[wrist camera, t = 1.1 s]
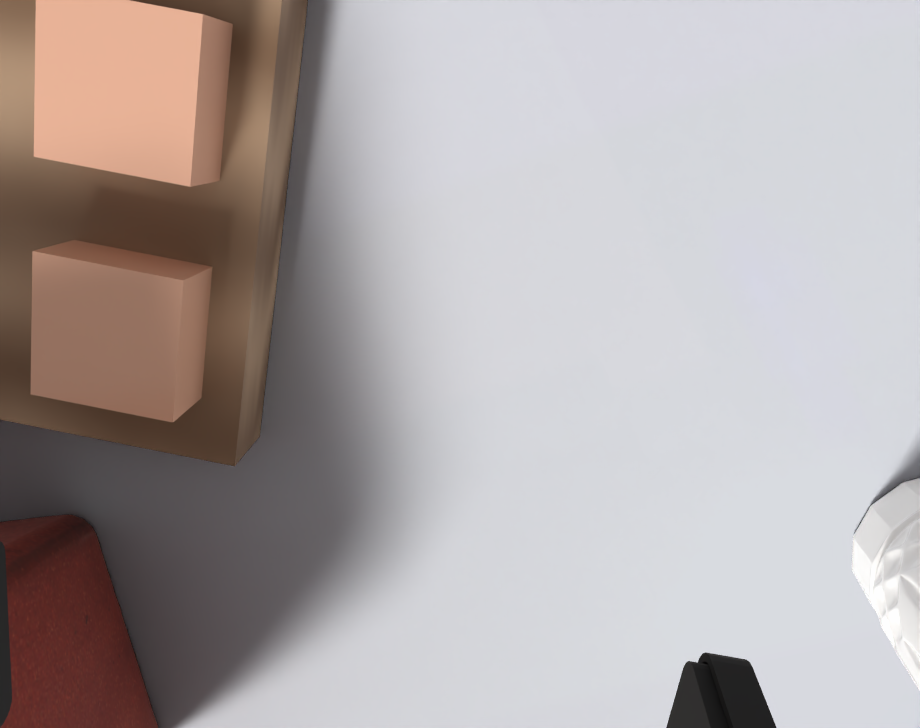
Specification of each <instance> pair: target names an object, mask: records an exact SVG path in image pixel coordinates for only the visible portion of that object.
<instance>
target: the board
mask: <svg viewBox="0 0 920 728" xmlns="http://www.w3.org/2000/svg"><path fill="white" fill-rule="evenodd" d="M130 1H136V2H141V3H146V4H152V5H157V6H162V7H168V8H173V9H178V10H184V11H189V12H194V13H199V14H204V15H207V16H210V17H213V18H216V19H219V20H222V21H225V22H228V23H231V24H233V29H232V41H231V53H230V65H229V77H228V89H227V101H226V112H225V124H224V136H223V148H222V160H221V172H220V181H217V182H212V183H207V184H202V185H197V186H192V187H189V186H184V185H178V184H173V183H168V182H163V181H158V180H152V179H147V178H142V177H137V176H132V175H126V174H121V173H116V172H111V171H106V170H100V169H95V168H90V167H85V166H80V165H74V164H69V163H64V162H59V161H54V160H48V159H43V158H38V157H34V94H35V19H36V0H0V420H5V421H10V422H15V423H20V424H25V425H30V426H35V427H40V428H45V429H50V430H55V431H60V432H65V433H70V434H75V435H80V436H85V437H90V438H95V439H100V440H105V441H110V442H115V443H120V444H125V445H130V446H135V447H140V448H145V449H151V450H156V451H161V452H166V453H171V454H176V455H181V456H186V457H191V458H196V459H201V460H206V461H211V462H216V463H221V464H226V465H231V466H235V465H236V464H237V463H238V462H239V461H240V459H241V458H242V457H243V456H244V455H245V453H246V452H247V451H248V450H249V449H250V447H251V446H252V445H253V444H254V443H255V441H256V440H257V439H258V438H259V437H260V430H261V421H262V412H263V403H264V393H265V384H266V375H267V366H268V357H269V348H270V339H271V330H272V321H273V312H274V303H275V294H276V285H277V276H278V267H279V258H280V249H281V239H282V230H283V221H284V212H285V203H286V194H287V185H288V176H289V167H290V158H291V149H292V140H293V131H294V122H295V113H296V104H297V94H298V85H299V76H300V67H301V58H302V49H303V40H304V31H305V22H306V13H307V4H308V0H130ZM72 240H77V241H83V242H88V243H93V244H98V245H103V246H108V247H113V248H119V249H124V250H129V251H134V252H139V253H144V254H150V255H155V256H160V257H165V258H170V259H175V260H180V261H186V262H191V263H196V264H201V265H206V266H211V267H212V278H211V290H210V302H209V314H208V326H207V338H206V350H205V361H204V373H203V385H202V397H201V399H200V400H198V401H197V402H196V403H195V404H194V405H193V406H192V407H190V408H189V409H188V410H187V411H186V412H185V413H183V414H182V415H181V416H180V417H179V418H178V419H177V420H175V421H174V422H168V421H163V420H158V419H153V418H148V417H143V416H137V415H132V414H127V413H122V412H117V411H112V410H107V409H102V408H97V407H92V406H87V405H82V404H77V403H72V402H67V401H62V400H57V399H52V398H47V397H42V396H36V395H31V320H32V251H35V250H38V249H42V248H46V247H50V246H53V245H57V244H61V243H65V242H68V241H72Z"/></svg>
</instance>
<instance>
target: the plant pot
mask: <svg viewBox="0 0 920 728" xmlns="http://www.w3.org/2000/svg"><path fill="white" fill-rule="evenodd" d="M0 541H1V542H2V543H3V545H4V547H5V555H6V576H7V597H8V618H9V639H10V661H11V682H12V703H11V707H10V711H9V713H8V716H7V718H6V720H5V722H4V723H3V725H2V726H1V728H158V725H157V722H156V719H155V716H154V713H153V710H152V707H151V704H150V701H149V697H148V694H147V691H146V688H145V685H144V682H143V678H142V675H141V672H140V669H139V666H138V663H137V660H136V657H135V653H134V650H133V647H132V644H131V641H130V638H129V635H128V632H127V629H126V626H125V623H124V620H123V617H122V613H121V609H120V606H119V603H118V600H117V598H116V595H115V592H114V589H113V585H112V582H111V579H110V576H109V573H108V570H107V567H106V564H105V560H104V557H103V554H102V551H101V548H100V545H99V541H98V538H97V535H96V533H95V531H94V529H93V527H92V526H91V525H90V524H89V523H87V522H86V521H85V520H84V519H83V518H80V517H77V516H74V515H57V516H47V517H38V518H30V519H23V520H13V521H4V522H0Z"/></svg>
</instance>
